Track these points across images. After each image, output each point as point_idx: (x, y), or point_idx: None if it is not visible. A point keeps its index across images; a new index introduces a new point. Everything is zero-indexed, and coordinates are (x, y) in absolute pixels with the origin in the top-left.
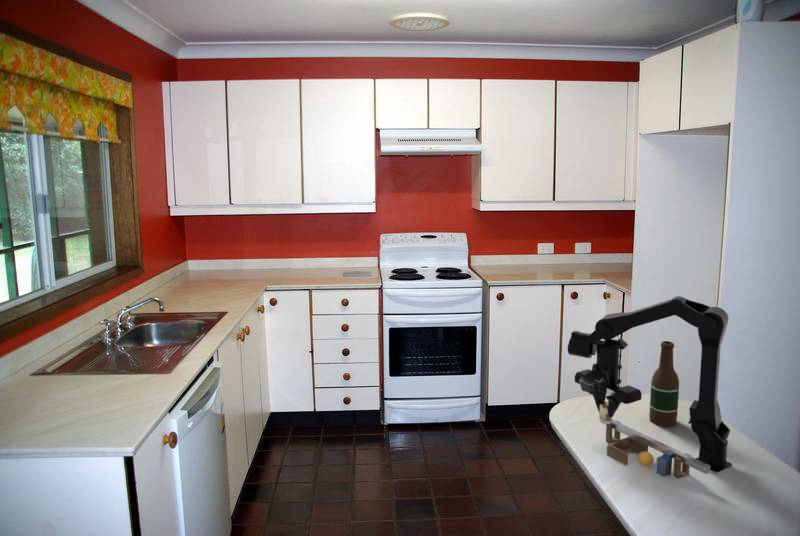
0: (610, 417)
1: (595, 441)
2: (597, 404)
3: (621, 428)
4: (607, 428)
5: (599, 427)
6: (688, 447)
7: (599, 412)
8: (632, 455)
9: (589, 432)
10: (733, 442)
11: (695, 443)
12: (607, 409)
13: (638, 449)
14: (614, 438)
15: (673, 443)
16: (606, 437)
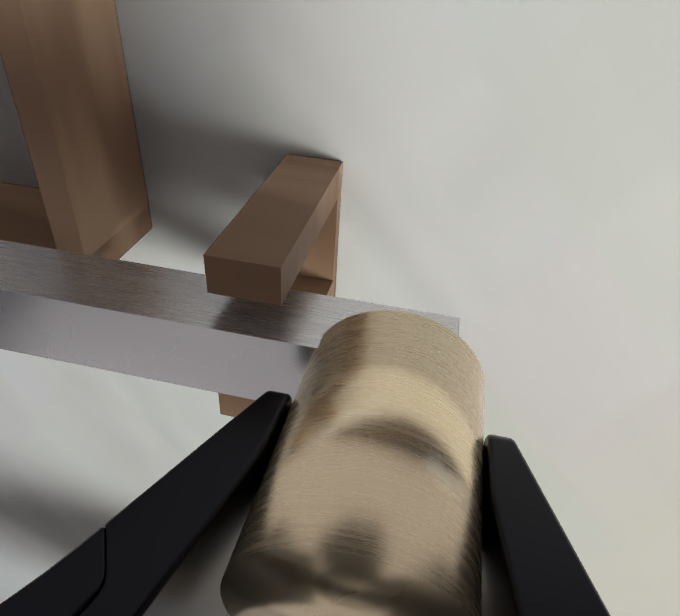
0: (267, 398)
1: (413, 60)
2: (536, 572)
3: (79, 290)
4: (277, 234)
5: (568, 358)
6: (19, 456)
7: (491, 436)
8: (12, 113)
9: (599, 200)
10: (11, 575)
11: (48, 504)
12: (260, 500)
13: (4, 203)
14: (308, 255)
15: (83, 452)
16: (323, 179)
